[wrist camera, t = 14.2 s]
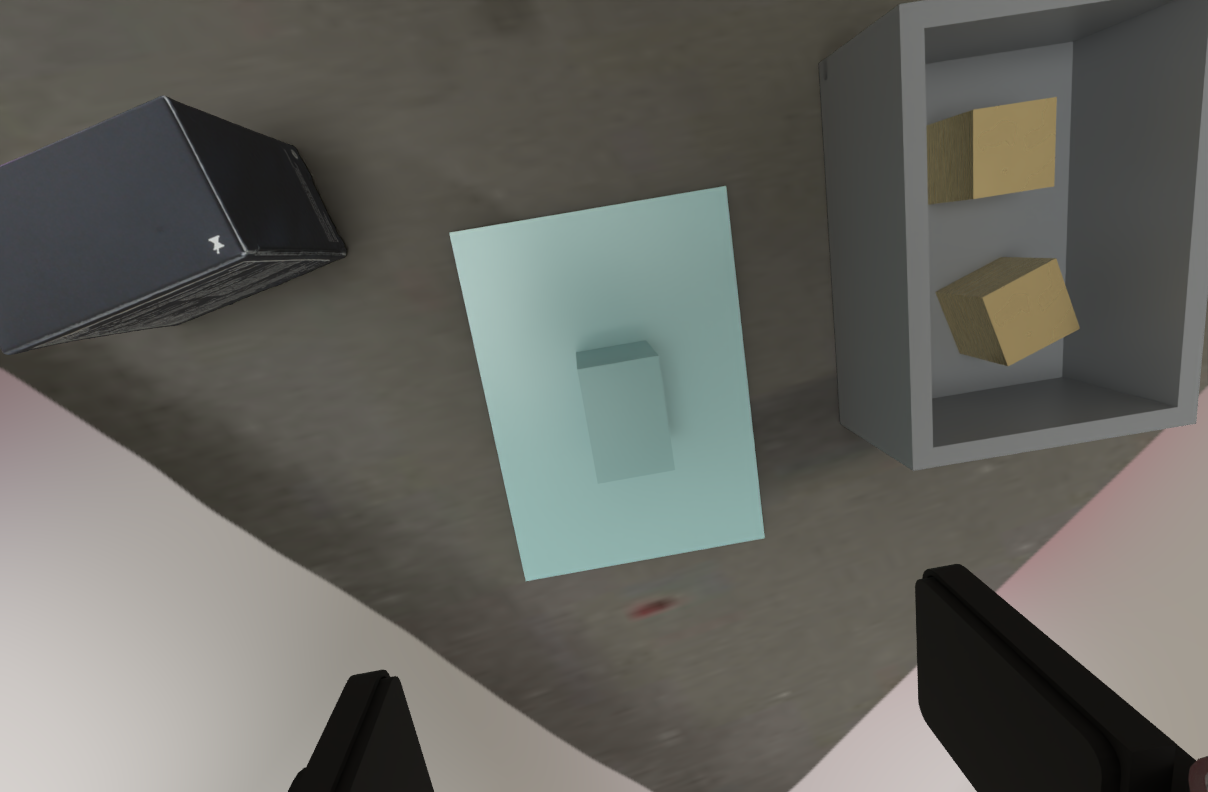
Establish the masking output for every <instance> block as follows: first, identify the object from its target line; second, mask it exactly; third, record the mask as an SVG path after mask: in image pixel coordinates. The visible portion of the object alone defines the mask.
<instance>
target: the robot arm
mask: <svg viewBox="0 0 1208 792" xmlns="http://www.w3.org/2000/svg"><path fill="white" fill-rule="evenodd" d="M915 597H916V633H917V668H918V700H919V706H920V710H921V713H922V716H923V717H924V720H925V722H926V723H927V725H928V726H929V727H930V729H931V730H932V732H933V733H934V734H935V736H936V737H937V738H938V740H939V741H940V742H941V743H942V745H943V746H944V747H945V749H946V750H947V752H948V753H949V755H950V756H951V757H952V759H953V760H954V761H955V763H956V764H957V765H958V767H959V768H960V769H961V771H962V772H963V773H964V775H965V776H966V778H967V779H968V780H969V781H970V783H971V784H972V786H973V787H974V788H975V790H976V791H977V792H1208V756H1206V757H1203V758H1200V759H1198V760H1197V761H1196V760H1195V759H1194V758H1192V757H1191V756H1190V755H1189V754H1187V753H1186V752H1185V751H1184V750H1183V749H1182V748H1180V747H1179V746H1178V745H1177V744H1176V743H1175V742H1174V741H1172V740H1171V739H1170V738H1169V737H1168V736H1166V735H1165V734H1164V733H1163V732H1162V731H1160V730H1159V729H1158V728H1157V727H1156V726H1154V725H1153V724H1152V723H1150V721H1148V720H1147V719H1146V718H1145V717H1144V716H1142V715H1141V714H1140V713H1139V712H1138V711H1136V710H1135V709H1134V708H1133V707H1132V706H1130V705H1129V704H1128V703H1127V702H1126V701H1125V700H1123V699H1122V698H1121V697H1120V696H1119V695H1117V694H1116V693H1115V692H1114V691H1113V690H1111V689H1110V688H1109V687H1108V686H1107V685H1105V684H1104V683H1103V682H1102V681H1101V680H1099V679H1098V678H1097V677H1096V676H1095V675H1093V674H1092V673H1091V672H1090V671H1089V670H1087V669H1086V668H1085V667H1084V666H1083V665H1081V664H1080V663H1079V662H1078V661H1076V660H1075V659H1074V658H1073V657H1072V656H1071V655H1069V654H1068V653H1067V652H1066V651H1065V650H1063V649H1062V648H1061V647H1060V646H1059V645H1057V644H1056V643H1055V642H1054V641H1053V640H1051V639H1050V638H1049V637H1048V636H1047V635H1045V634H1044V633H1043V632H1042V631H1041V630H1039V629H1038V628H1037V627H1036V626H1035V625H1033V624H1032V623H1031V622H1030V621H1029V620H1028V619H1026V618H1025V617H1024V616H1023V615H1022V614H1020V613H1019V612H1018V611H1017V610H1016V609H1014V608H1013V607H1012V606H1010V604H1008V603H1007V602H1006V601H1005V600H1004V599H1002V598H1001V597H1000V596H999V595H997V594H996V593H995V592H994V591H993V590H992V589H990V588H989V587H988V586H987V585H986V584H984V583H983V582H982V581H981V580H980V579H978V578H977V577H976V576H975V575H974V574H972V573H971V572H970V571H969V570H968V569H966V568H965V567H964V566H962V565H960V564H953V565H948V566H942V567H937V568H931V569H927V570H925V571H924V574H923V579H919V580H917V582H916V585H915ZM288 792H434V790H433V787H432V783H431V780H430V777H429V774H428V770H427V767H426V764H425V760H424V757H423V754H422V751H421V747H420V744H419V741H418V737H417V734H416V731H415V727H414V725H413V721H412V718H411V714H410V711H409V708H408V705H407V701H406V698H405V695H404V691H403V689H402V685H401V682H400V680H399V678H398V677H396V676H394V677H390V676H389V673H388V672H387V671H386V670H379V671H373V672H368V673H362V674H357V675H353V676H351V677H350V678H349V680H348V681H347V683H346V685H345V687H344V689H343V691H342V693H341V696H340V698H339V700H338V702H337V704H336V706H335V708H334V710H333V712H332V714H331V716H330V718H329V721H328V723H327V725H326V727H325V729H324V731H323V733H322V736H321V738H320V740H319V742H318V744H317V746H316V748H315V750H314V752H313V754H312V756H311V758H310V761H309V763H308V765H307V767H306V768H304V769H303V770H301V771H300V772H299V773H298V774H297V776H296V778H295V779H294V780H293V782H292V784H291V787H290V788H289V790H288Z"/></svg>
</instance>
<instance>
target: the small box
mask: <svg viewBox="0 0 1208 792" xmlns="http://www.w3.org/2000/svg"><path fill="white" fill-rule="evenodd" d="M346 250H347V249H346V248H345V247H344V243H343V241H342V240H341V238H340V237H339V236H338V234H337V232H336V230H335V226H334V225H333V224H332V222H331V219H330V218H329V215H328V214H327V211H326V209H325V207H324V206H323V203H322V201H321V199H320V196H319V193H318V192H317V191H316V189H315V186H314V184H313V182H312V177H311V175H310V174H309V171H308V170H307V168H306V166H305V164H304V163H303V161H302V159H301V158H300V156H299V154H298V152H297V150H296V148H295V147H294V146H293V145H289V144H286V143H284V142H281V141H278V140H276V139H273V138H271V137H268V136H265V135H263V134H260V133H257V132H255V131H252V130H250V129H247V128H244V127H242V126H239V125H237V124H234V123H231V122H229V121H226V120H224V119H221V118H219V117H216V116H214V115H211V114H208V113H206V112H203V111H201V110H198V109H196V108H193V107H190V106H187V105H185V104H182V103H180V102H177V101H175V100H173V99H171V98H169V97H167V96H160V97H157V98H155V99H153V100H151V101H148V102H146V103H144V104H142V105H139V106H137V107H134V108H132V109H130V110H127V111H125V112H123V113H121V114H118V115H116V116H114V117H112V118H109V119H107V120H105V121H102V122H100V123H98V124H96V125H93V126H91V127H89V128H86V129H84V130H82V131H79V132H77V133H75V134H73V135H70V136H68V137H66V138H63V139H61V140H59V141H56V142H54V143H52V144H50V145H47V146H45V147H43V148H40V149H38V150H36V151H34V152H31V153H29V154H27V155H24V156H22V157H19V158H17V159H14V160H12V161H10V162H7V163H5V164H3V165H0V348H1V350H2V352H3V353H4V354H8V355H11V354H17V353H22V352H26V351H29V350H33V349H38V348H42V347H47V346H50V345H55V344H61V343H67V342H71V341H77V340H82V339H90V338H95V337H101V336H108V335H113V334H121V333H126V332H131V331H139V330H144V329H152V328H159V327H167V326H176V325H179V324H181V323H183V322H186V321H189V320H192V319H194V318H197V317H199V316H202V315H204V314H206V313H209V312H211V311H214V310H216V309H219V308H221V307H224V306H226V305H230V304H233V303H234V302H236V301H239V300H241V299H243V298H246V297H249V296H251V295H253V294H256V293H258V292H260V291H264V290H266V289H268V288H271V287H274V286H278V285H279V284H282V283H284V282H287V281H288V280H290V279H293V278H296V277H298V276H301V275H303V274H305V273H308V272H310V271H313V270H315V269H317V268H319V267H322V266H324V265H326V264H329V263H331V262H333V261H336V260H338V259H341V258H344V257H345V256H346Z"/></svg>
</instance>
